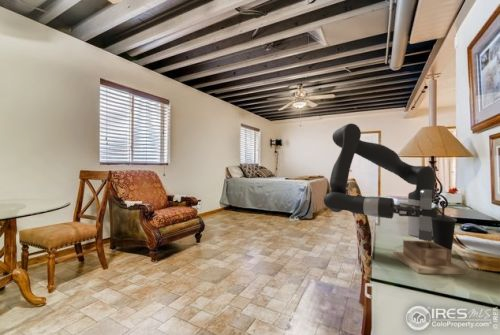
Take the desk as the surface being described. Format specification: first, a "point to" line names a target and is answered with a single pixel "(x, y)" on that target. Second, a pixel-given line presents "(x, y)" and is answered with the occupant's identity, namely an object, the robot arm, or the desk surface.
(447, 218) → the drinking cup
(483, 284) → the desk surface
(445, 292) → the desk surface
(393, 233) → the desk surface
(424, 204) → the ball topped joystick
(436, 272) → the wooden square box
